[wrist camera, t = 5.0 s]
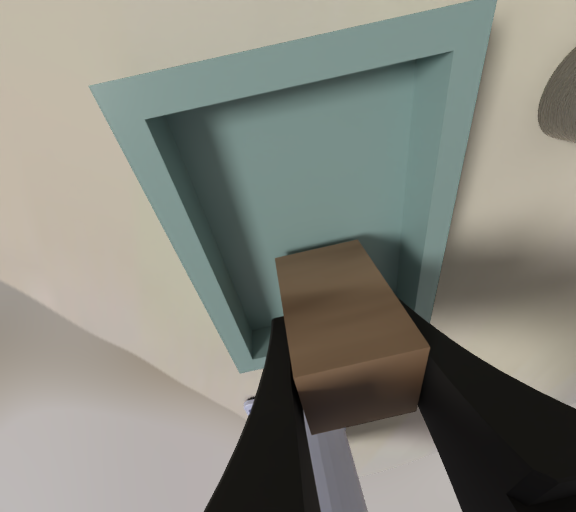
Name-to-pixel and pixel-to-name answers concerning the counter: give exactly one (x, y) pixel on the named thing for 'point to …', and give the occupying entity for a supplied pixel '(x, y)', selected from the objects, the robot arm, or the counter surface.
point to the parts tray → (307, 157)
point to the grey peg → (560, 101)
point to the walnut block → (348, 338)
